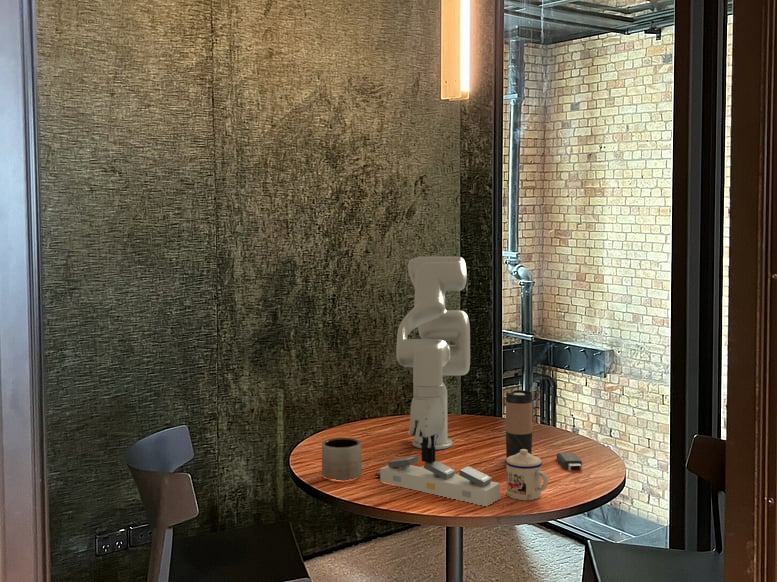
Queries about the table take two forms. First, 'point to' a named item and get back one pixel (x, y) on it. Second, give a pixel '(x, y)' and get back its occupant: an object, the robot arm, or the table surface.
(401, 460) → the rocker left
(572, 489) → the table surface
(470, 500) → the power strip
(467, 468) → the rocker right
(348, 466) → the planter
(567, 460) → the usb drive
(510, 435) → the travel mug
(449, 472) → the rocker middle
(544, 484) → the teacup with lid
